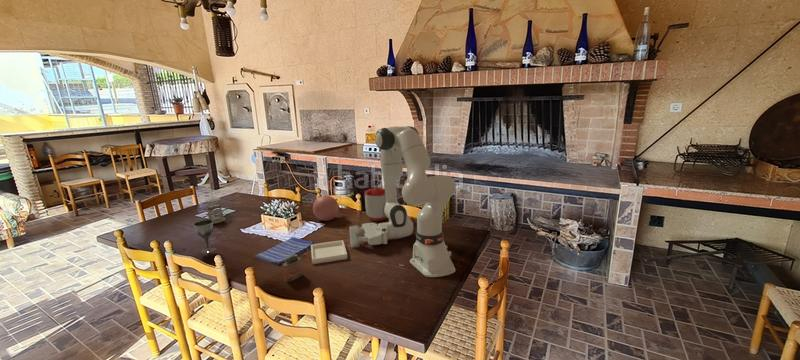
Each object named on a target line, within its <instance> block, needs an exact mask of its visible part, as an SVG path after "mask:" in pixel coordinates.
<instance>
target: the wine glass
mask: <svg viewBox="0 0 800 360" xmlns="http://www.w3.org/2000/svg"><path fill="white" fill-rule="evenodd" d="M193 226H194V230H195V233H196V234H197V236H198V237H200V238H202V239H203V240H204V242H205V244H206V247H205V248H203V249H201V250H200V254H202V255H203V254H204V255H205V254H211V253H213V252H215V251H216V250H217V247H215V246H210V245H209V239H210V237H211V235H212V234H213V233H214V223H213V221H212V220H209V219H202V220H198V221H196V222H194V225H193Z"/></svg>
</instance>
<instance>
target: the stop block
mask: <svg viewBox="0 0 800 360" xmlns="http://www.w3.org/2000/svg"><path fill="white" fill-rule="evenodd" d="M348 229H349V239H350V241H349V243H350V247H351V249H354V248H360V241H358V240H357V237H359V236H360V232H359V230H358V229H359V226H358V225H357V224H356V225H350V226H349V228H348Z"/></svg>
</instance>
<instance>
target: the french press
mask: <svg viewBox="0 0 800 360" xmlns="http://www.w3.org/2000/svg"><path fill="white" fill-rule="evenodd" d="M212 183H213V182H211V181H208V183H207V184H208V185H209V187H210V189H212V187H211V185H212ZM210 192H211V195H213V191H210ZM220 199H221V198H220V197H218V196H211V197H209V198H207V199H205V200H204V201H205V203H207V204H208V203H209V204H210V203H212V204H210V205H208V206H207V208H206V209H207V211H206V212H207V216H208V220H212V221H213V224H218V223H222V222H224V221H225V220H226V218H225V217H224V214H223V213H224V212H225V211H226V209H227V204H226V202H225V201H222V200H220ZM218 201H219V203H215V202H218ZM214 203H215V204H214ZM221 204H224V210H223V209H222V206H221ZM222 210H223V211H222Z"/></svg>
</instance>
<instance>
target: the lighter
mask: <svg viewBox="0 0 800 360" xmlns="http://www.w3.org/2000/svg"><path fill="white" fill-rule="evenodd" d="M282 267H283V275H284V282H285V283H289V282H292V281H294V280H296V279H298V278H300V277H302V276H303V272H302V258H301V257H299V255H297V254H295V255H290V257H288V258H285V259H284V263H282Z"/></svg>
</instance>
